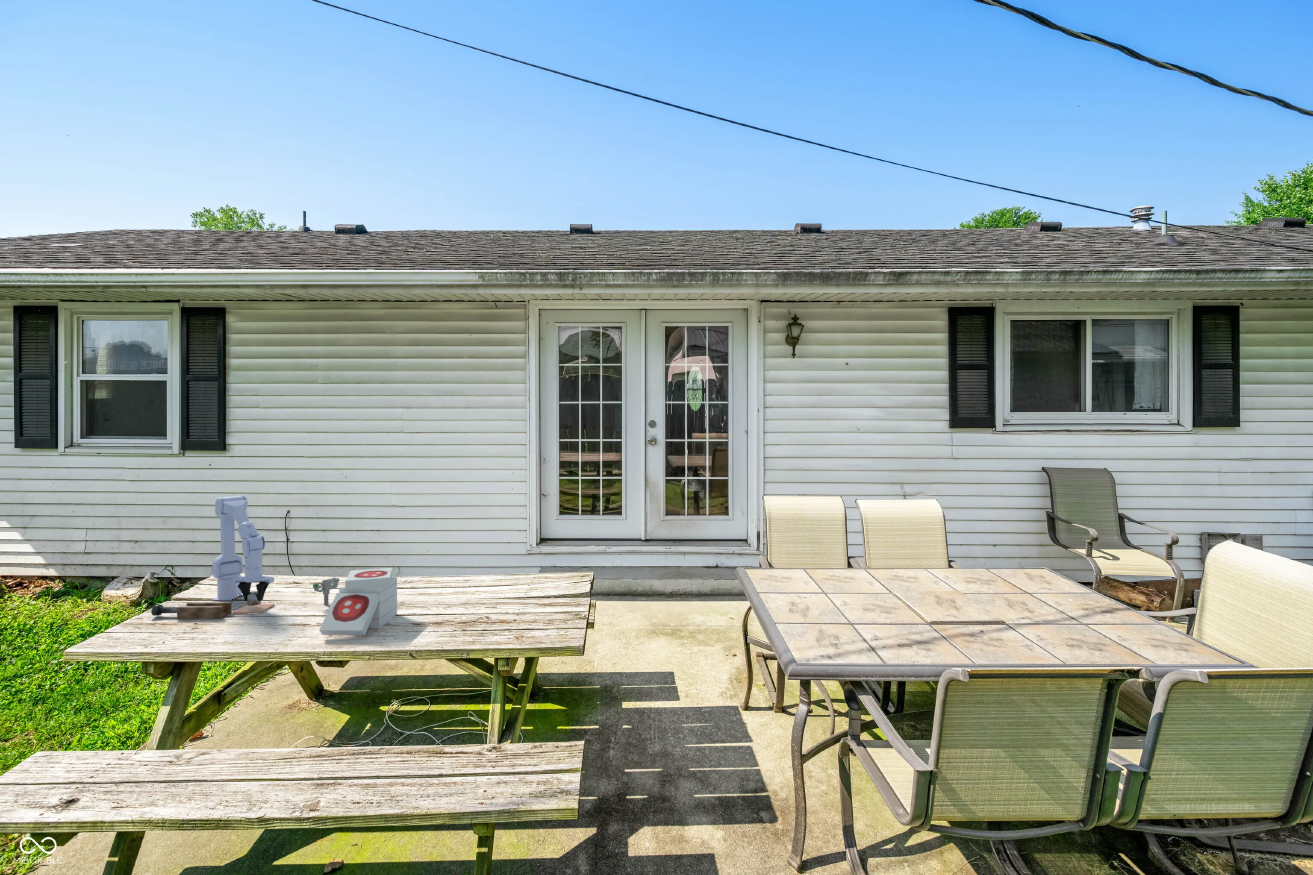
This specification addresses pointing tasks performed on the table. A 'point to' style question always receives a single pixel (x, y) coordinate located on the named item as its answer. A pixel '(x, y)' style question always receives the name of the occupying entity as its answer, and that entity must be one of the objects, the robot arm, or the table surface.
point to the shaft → (162, 610)
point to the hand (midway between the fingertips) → (253, 600)
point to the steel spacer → (252, 598)
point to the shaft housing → (204, 610)
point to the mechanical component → (326, 587)
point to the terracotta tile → (253, 609)
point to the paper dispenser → (362, 603)
